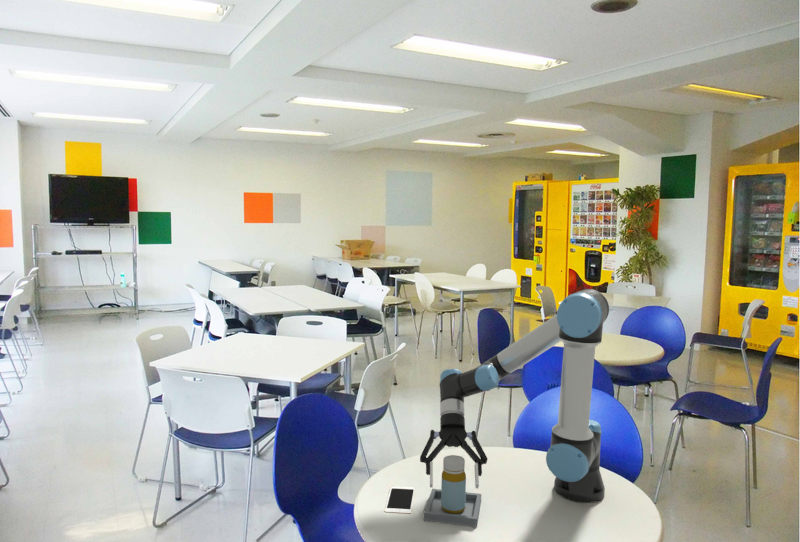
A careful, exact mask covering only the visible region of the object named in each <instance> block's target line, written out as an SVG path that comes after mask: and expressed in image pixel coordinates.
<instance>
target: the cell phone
mask: <svg viewBox="0 0 800 542" xmlns="http://www.w3.org/2000/svg"><path fill="white" fill-rule="evenodd" d="M415 492H416V487H413V486H393V485H392V486H391V487H390V488H389V493H388V496H387V501H386V503H385V508H384V513H387V512H391V513H390V514H404V515H405V514H408V515H411V514H412V512H413V511H412V510H413V504H414V499H415Z"/></svg>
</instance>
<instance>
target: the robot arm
mask: <svg viewBox="0 0 800 542" xmlns="http://www.w3.org/2000/svg"><path fill="white" fill-rule="evenodd" d="M609 313H610V304H609V301H608V299H607V298H606V297H605V295H604V294H603V293H601V292H600V291H598V290H595V289H592V288H584V289H581V290H579V291H576V292H574V293H572V294H569V295H567V296H565V297H564V299H563V300H562V301H561V303H560V304H559V306H558V308H557V311H556V314H555V315H553V316H552V317H550V318H549V319H548V320H546V321H545V322H543V323H542V324H540V325H538V326H537V327H536V328H534V329H533V330H531V331H530V332H528V333H527V334H525V335H524V336H522V337H521V338H519V339H518V340H517V341H515V342H513V343H512V344H510V345H509V346H507V347H506V348H504V349H503V350H501V351H500V352H497V354H496V355H494V356H492V357H491V358H488V360H486V361H484V362H482V363H481V364H480V365H477V366H476V367H474V368H473V369H470V370H466V371H464V372H462V371H461V370H460V369H457V368H451V369H450V368H447V369H444V370H442V372H441V373H440V375H439V377H440V378H439V391H440V392H439V393H440V395H439V397H440V399H439V400H440V402H439V409H440V410H439V412H440V420H439V421H440V423H439V424H440V430H439V431H435V430H434V429H431V430H430V431H429V432H430V433H429V438H428V439H427V442H426V444H425V446H424V448H423V449H422V452H421V454H420V456H419V457H420V458H419V461H420V463H424V464H425V474H426V475H427V476H429V487H430V488H433V487H434V480H433V479H434V478H433V477H434V476H433V474H434V470H433V469H434V468H433V467H434V464H433V463H434V462H433V461H434V459H435V458H437V456H438V454H439V453H440V452H441V451H442V450H443V449H444V448H445V447H448V448H451V447H455V448H459V447H461V449H463V450H464V451H465V452H466V454H467V455H468V456H469V458H471V460H472V461H473V462H474V465H473V466H474V485H475V487H474V488H475V489H479V486H480V484H479V483H480V481H479V480H480V479H479V477H481V476H482V475H483V474H482V473H483V467H482V465H486V464H487V462H488V457H487V455H486V453H485V451H484V449H483V448H482V446H481V444H480V442H479V440H478V438H477V433H476V431H475V430H471V431H470V432H467V431H466V422H465V421H466V419H465V398H467V397H470V396H473V395H476V394H479V393H484V392H489V391H491V390H494V389H495V388H497V387H498V386H499V382H500V381H501V380H503V379H505V378H506V377H507V376H509V375H510V374H512V373H513V372H515V371H516V370H518V369H520V368H521V367H522V366H524V365H526V364H527V363H529V362H531V361H532V360H534V359H535V358H537V357H539V356H540V355H542V354H543V353H545V352H546V351H548V350H549V349H551V348H553V347H554V346H556V345H557V344H559V343H561V342H562V344H563V352H562V363H561V364H562V365H561V376H560V377H561V378H560V389H559V391H560V393H559V403H558V404H559V405H558V417H557V423H555V425H554V426H552V428H551V438H550V447H549V448H548V450H546V451H547V452H546V456H545V461H546V463H545V464H546V466H547V467H548V470H549V471H550V472H551V473H552V474H553V476H554V477H555V479H554V482H553V484H554V485H553V486H554V488H553V489H554V491H555V493H556V494H557V495H559V496H561V497H562V498H564V499H566V500H569V501H573V502H577V503H586V504H587V503H595V502H599V501H601V500H603V499H604V497H605V493H606V492H605V489H606V488H605V484H604V480H603V477H602V474H601V471H600V464H601V463H600V462H601V437H602V433H603V432H602V427H601V426H602V425H601V424H600V423H599V422H598V421H596V420H593V419H590V414H591V402H592V401H591V400H592V392H593V391H592V390H593V380H594V377H593V376H594V368H595V354H596V347H597V346H599V345H600V344H601V343H602V339H603V338H602V337H603V331H604V330H603V326H604V323H605V322H606V320H607V319H608V316H609ZM437 438H440V441H439V443H438V444H437V445H436V446H435V448H434V449H433V450H432V451H431V453H430V454H429V451H430V450H431V447H432V446H433V443H434V440H437ZM466 438H468V439H469V440H470V441H471V443H472V444H473V447H474V448H475V451H476V452H477V453H476V452H475V451H474V450H473V448H472V447H471V446H470V444H468V442H467V440H466ZM428 454H429V455H428Z"/></svg>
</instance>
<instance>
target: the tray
mask: <svg viewBox="0 0 800 542" xmlns="http://www.w3.org/2000/svg"><path fill="white" fill-rule="evenodd" d="M430 491H431V492H430V494H429V497H428V499H427V503H426V506H425V508H424V511H423V522H429V523H438V524H445V525H446V524H447V525H453V526H462V527H463V526H464V527H471V528H472V527H473V528H478V522H479V519H480V518H479V517H480V511H481V505H482V493H477V492H476V493H475V492H468V491H467V492H466V501H465V510H464V511H463V512H461V513H459V514H449V513H447V512H445V511H444V510H443V509H442V507H441V488H440V489H439V488H432V489H431V490H430Z"/></svg>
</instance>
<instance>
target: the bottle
mask: <svg viewBox="0 0 800 542" xmlns="http://www.w3.org/2000/svg"><path fill="white" fill-rule="evenodd" d="M465 462H466V461H465V458H464V457H462V456H460V455H454V454H451V455H446V456H444V457H443V462H442V463H443V464H442V465H443V468H442V469H443V470H442V472H441V488H440V490H441V507H442V509H443V510H444V511H445V512H447V513H449V514H459V513H461V512H463V511H464V510H465V501H466V491H467V488H466V487H467V475H466V472H465V467H466V466H465V465H466V464H465Z"/></svg>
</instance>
